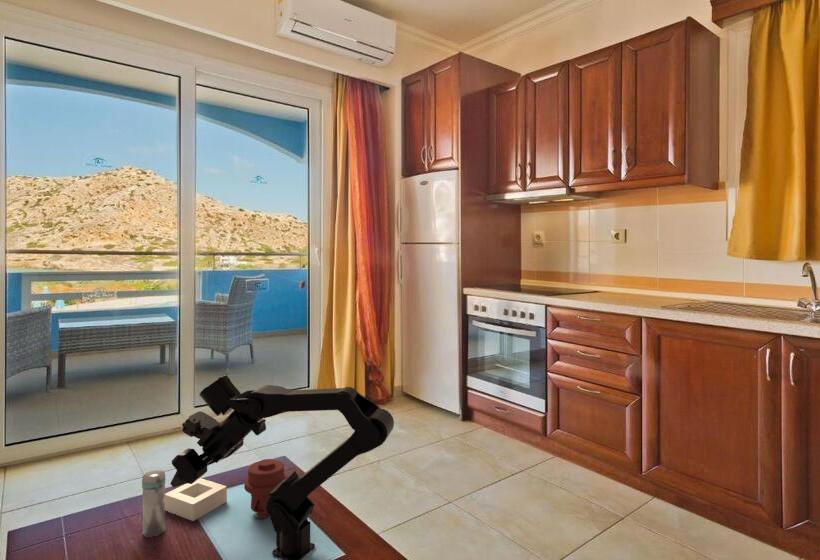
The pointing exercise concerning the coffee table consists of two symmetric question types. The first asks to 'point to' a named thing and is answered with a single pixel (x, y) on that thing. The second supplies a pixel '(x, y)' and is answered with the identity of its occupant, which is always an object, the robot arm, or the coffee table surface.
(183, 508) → the docking block
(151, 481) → the cylinder
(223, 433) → the robot arm
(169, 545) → the coffee table surface
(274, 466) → the mechanical component
